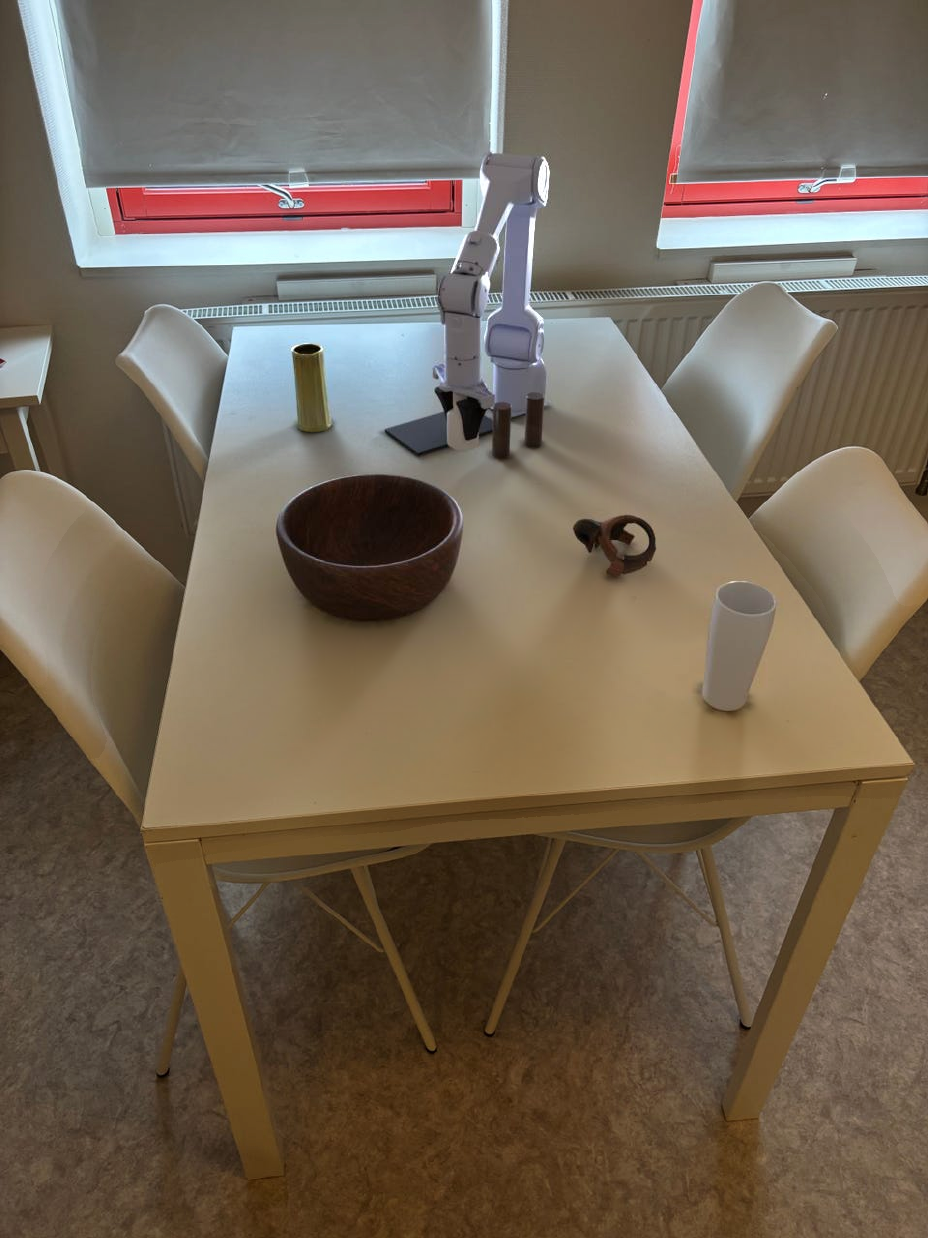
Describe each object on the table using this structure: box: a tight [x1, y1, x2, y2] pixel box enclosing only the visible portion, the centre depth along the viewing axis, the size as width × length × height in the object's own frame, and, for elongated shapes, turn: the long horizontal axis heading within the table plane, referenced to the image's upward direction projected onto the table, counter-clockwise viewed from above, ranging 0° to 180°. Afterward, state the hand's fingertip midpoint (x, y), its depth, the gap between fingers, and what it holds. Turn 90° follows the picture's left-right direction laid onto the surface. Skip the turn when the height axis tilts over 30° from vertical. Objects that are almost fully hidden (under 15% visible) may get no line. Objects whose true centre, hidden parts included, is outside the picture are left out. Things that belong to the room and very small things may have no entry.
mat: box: [384, 411, 493, 457], centre depth 171 cm, size 18×11×1 cm, turn 125°
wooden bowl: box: [275, 473, 464, 622], centre depth 131 cm, size 25×25×10 cm
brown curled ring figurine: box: [572, 514, 657, 579], centre depth 137 cm, size 12×10×8 cm
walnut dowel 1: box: [491, 402, 512, 460], centre depth 162 cm, size 3×3×9 cm
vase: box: [291, 342, 332, 433], centre depth 169 cm, size 6×6×14 cm
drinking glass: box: [701, 580, 778, 712], centre depth 111 cm, size 7×7×15 cm
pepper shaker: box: [447, 392, 480, 453], centre depth 155 cm, size 4×4×10 cm
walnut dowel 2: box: [523, 392, 545, 449], centre depth 165 cm, size 3×3×9 cm
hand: (462, 433), depth 157 cm, fingers closed on pepper shaker, 4 cm apart
